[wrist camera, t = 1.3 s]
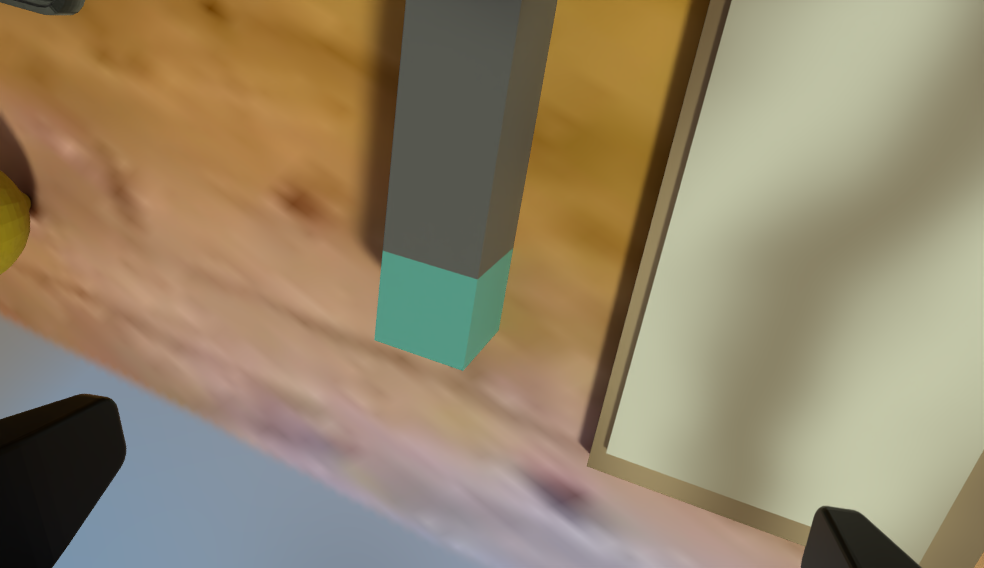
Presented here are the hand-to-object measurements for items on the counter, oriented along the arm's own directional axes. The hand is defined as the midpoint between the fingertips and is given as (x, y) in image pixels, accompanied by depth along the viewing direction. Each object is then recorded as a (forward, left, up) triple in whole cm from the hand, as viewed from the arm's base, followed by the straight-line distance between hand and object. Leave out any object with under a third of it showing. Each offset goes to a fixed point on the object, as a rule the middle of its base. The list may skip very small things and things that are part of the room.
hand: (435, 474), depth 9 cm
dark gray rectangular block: (+5, -1, -13) cm, 14 cm away
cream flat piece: (-6, -1, -13) cm, 14 cm away
